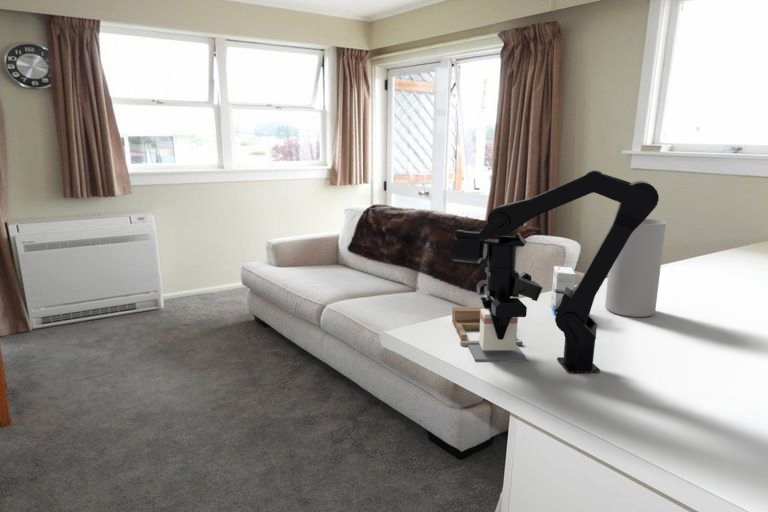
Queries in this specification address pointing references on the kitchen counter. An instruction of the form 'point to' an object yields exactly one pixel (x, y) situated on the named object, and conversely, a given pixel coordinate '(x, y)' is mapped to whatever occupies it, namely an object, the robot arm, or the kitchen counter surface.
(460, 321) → the cradle
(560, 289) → the ink box
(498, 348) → the block
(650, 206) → the robot arm
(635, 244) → the cylinder vase
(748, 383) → the kitchen counter surface
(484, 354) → the mat
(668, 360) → the kitchen counter surface
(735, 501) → the kitchen counter surface
